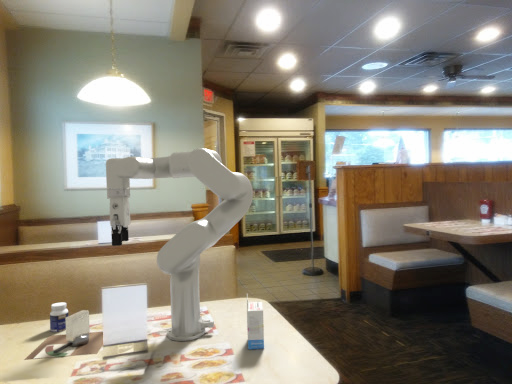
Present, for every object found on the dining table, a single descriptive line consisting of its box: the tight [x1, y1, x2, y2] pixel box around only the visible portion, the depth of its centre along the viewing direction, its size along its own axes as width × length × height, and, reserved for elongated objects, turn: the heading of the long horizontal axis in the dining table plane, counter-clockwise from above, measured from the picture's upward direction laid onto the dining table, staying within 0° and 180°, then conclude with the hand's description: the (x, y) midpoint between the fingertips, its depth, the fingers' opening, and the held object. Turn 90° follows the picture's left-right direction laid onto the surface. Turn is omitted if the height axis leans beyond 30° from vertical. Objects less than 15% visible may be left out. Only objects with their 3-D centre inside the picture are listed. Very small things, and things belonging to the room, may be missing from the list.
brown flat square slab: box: [23, 331, 104, 361], centre depth 115 cm, size 20×18×1 cm
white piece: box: [53, 309, 91, 353], centre depth 112 cm, size 12×6×9 cm, turn 162°
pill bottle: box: [49, 301, 69, 333], centre depth 128 cm, size 6×6×10 cm
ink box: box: [246, 293, 265, 350], centre depth 114 cm, size 8×5×15 cm, turn 2°
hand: (120, 243), depth 128 cm, fingers open, 9 cm apart
